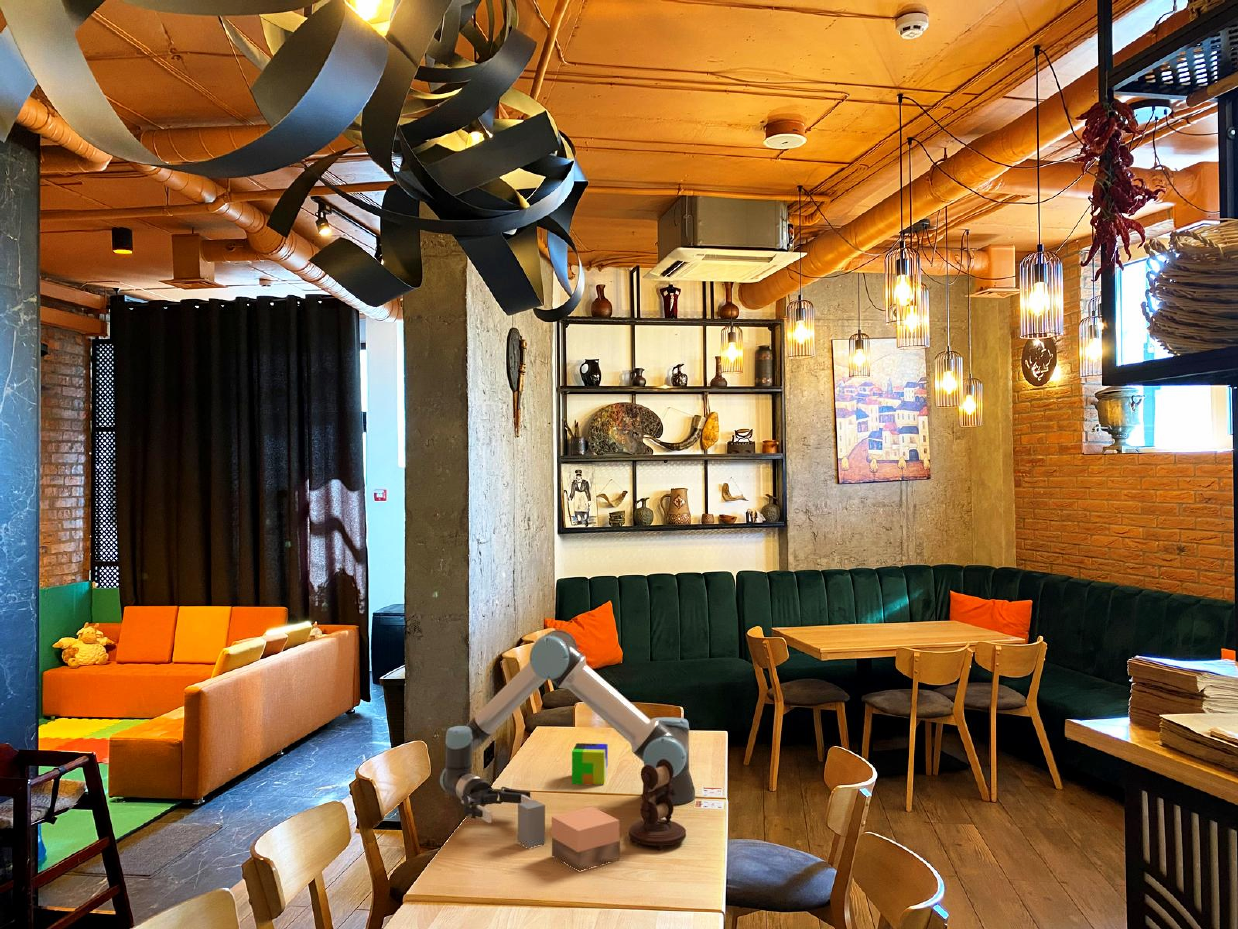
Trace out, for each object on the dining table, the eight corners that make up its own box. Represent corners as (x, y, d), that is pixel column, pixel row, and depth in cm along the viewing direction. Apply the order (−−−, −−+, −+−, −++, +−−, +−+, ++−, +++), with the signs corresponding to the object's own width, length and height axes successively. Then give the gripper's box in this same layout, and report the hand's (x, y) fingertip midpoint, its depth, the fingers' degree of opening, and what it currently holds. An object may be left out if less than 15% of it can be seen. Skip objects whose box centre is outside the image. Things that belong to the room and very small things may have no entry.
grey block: (534, 839, 229) (534, 799, 230) (544, 844, 225) (544, 805, 226) (517, 843, 226) (517, 803, 227) (528, 849, 222) (528, 809, 223)
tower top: (591, 826, 225) (591, 806, 225) (619, 841, 215) (619, 820, 216) (551, 837, 218) (551, 816, 218) (578, 852, 208) (578, 831, 209)
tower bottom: (591, 846, 225) (591, 826, 225) (620, 861, 215) (619, 840, 216) (551, 858, 218) (551, 837, 218) (579, 874, 208) (579, 852, 208)
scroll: (651, 826, 238) (651, 751, 239) (697, 839, 229) (696, 761, 230) (617, 842, 227) (617, 763, 228) (663, 856, 218) (663, 774, 218)
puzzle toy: (607, 775, 283) (607, 744, 284) (603, 785, 273) (603, 752, 274) (576, 774, 284) (576, 743, 285) (572, 784, 274) (572, 751, 275)
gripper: (512, 795, 257) (552, 816, 240) (433, 814, 242) (470, 837, 225) (512, 769, 257) (552, 788, 240) (434, 786, 242) (470, 807, 225)
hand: (512, 811), depth 232 cm, fingers open, 13 cm apart
